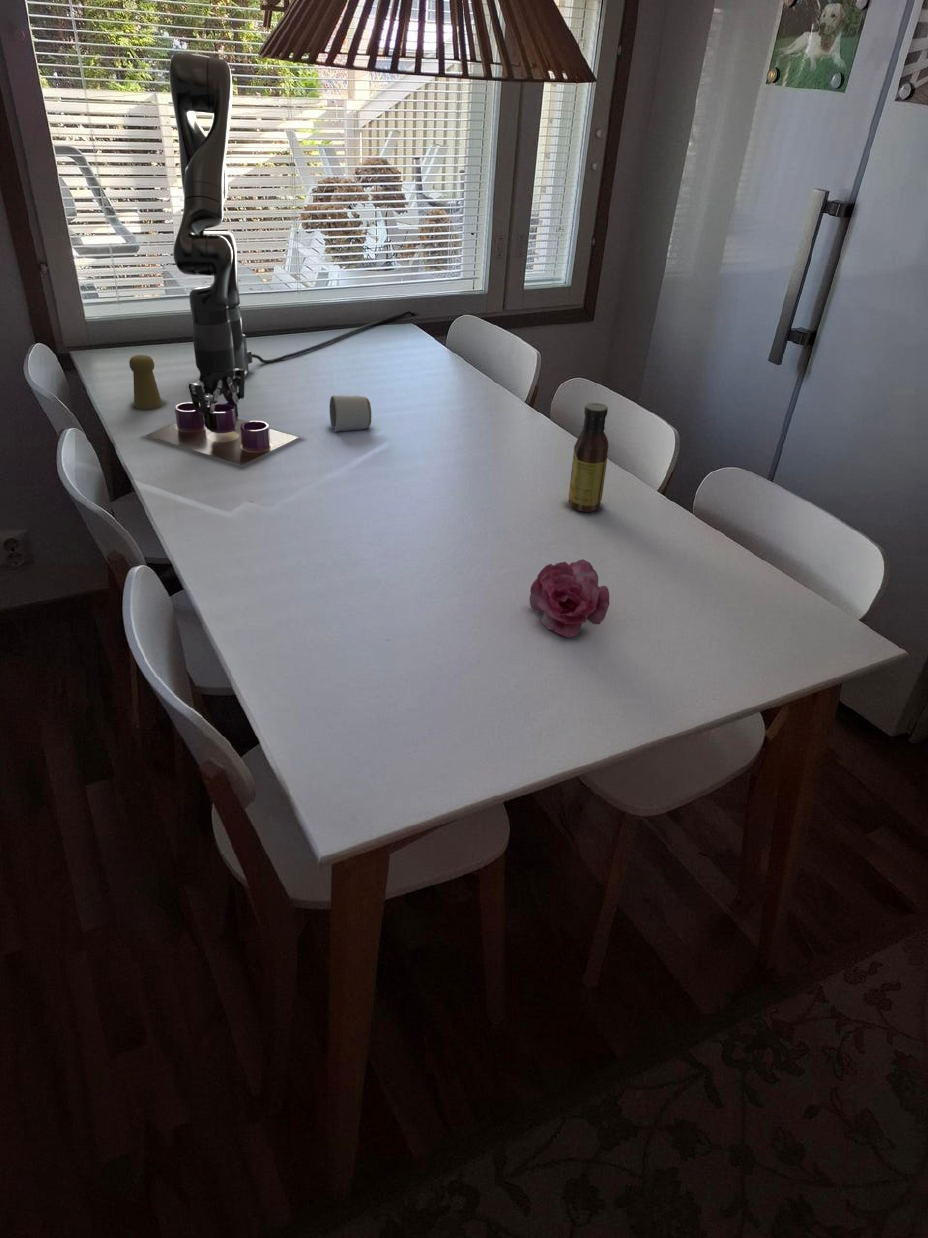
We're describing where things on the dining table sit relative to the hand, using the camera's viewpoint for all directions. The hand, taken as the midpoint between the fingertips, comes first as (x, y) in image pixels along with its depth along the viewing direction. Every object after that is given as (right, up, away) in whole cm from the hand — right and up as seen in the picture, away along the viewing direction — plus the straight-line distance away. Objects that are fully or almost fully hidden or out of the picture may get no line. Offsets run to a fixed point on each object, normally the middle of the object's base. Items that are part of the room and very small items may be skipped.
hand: (222, 424), depth 178 cm
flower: (+66, -41, -49) cm, 92 cm away
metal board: (0, -3, +2) cm, 3 cm away
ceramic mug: (+25, +2, +11) cm, 27 cm away
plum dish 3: (+8, -5, -2) cm, 9 cm away
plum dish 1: (-8, +1, +5) cm, 9 cm away
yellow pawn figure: (-21, +8, +16) cm, 28 cm away
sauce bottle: (+73, -19, -16) cm, 77 cm away
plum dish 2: (0, -1, 0) cm, 1 cm away
